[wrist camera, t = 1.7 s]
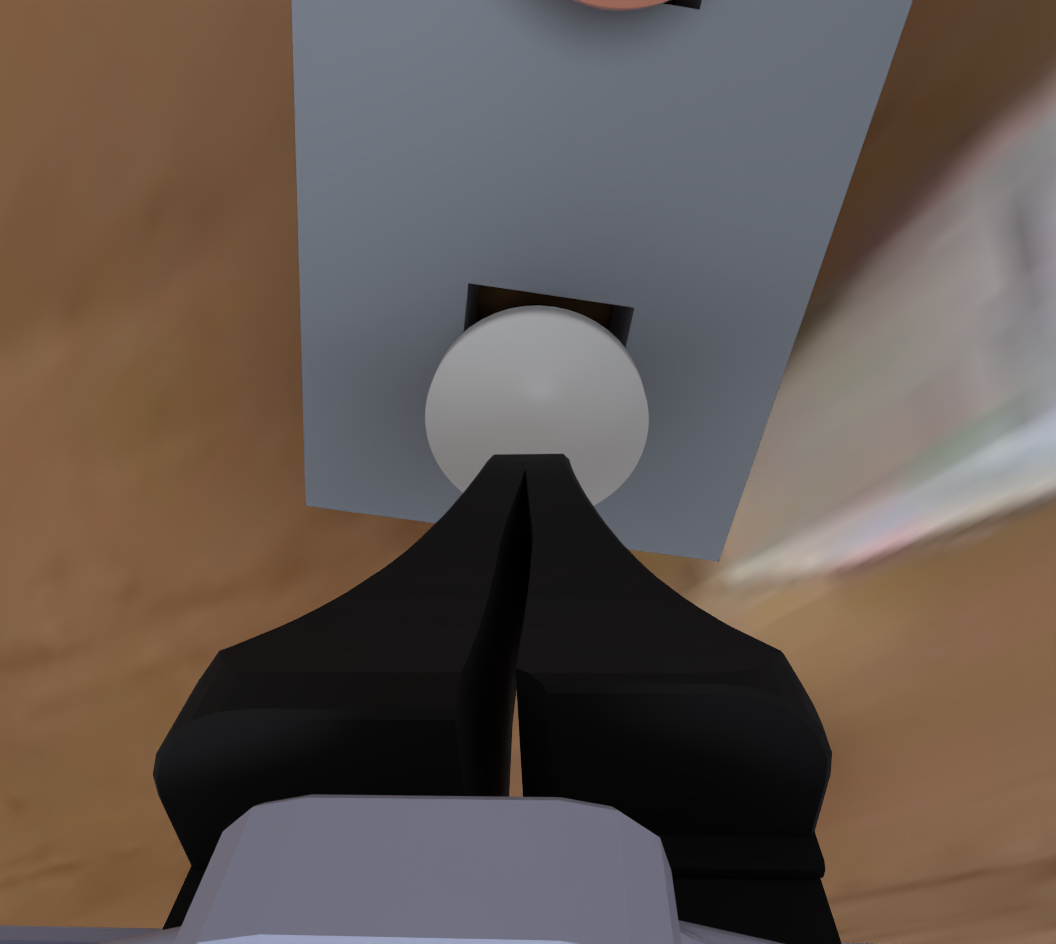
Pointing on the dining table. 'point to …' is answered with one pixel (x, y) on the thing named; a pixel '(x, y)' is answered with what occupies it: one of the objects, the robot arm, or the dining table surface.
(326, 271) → the panel
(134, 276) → the dining table surface
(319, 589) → the dining table surface
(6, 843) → the dining table surface
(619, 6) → the red plunger
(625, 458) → the grey plunger
